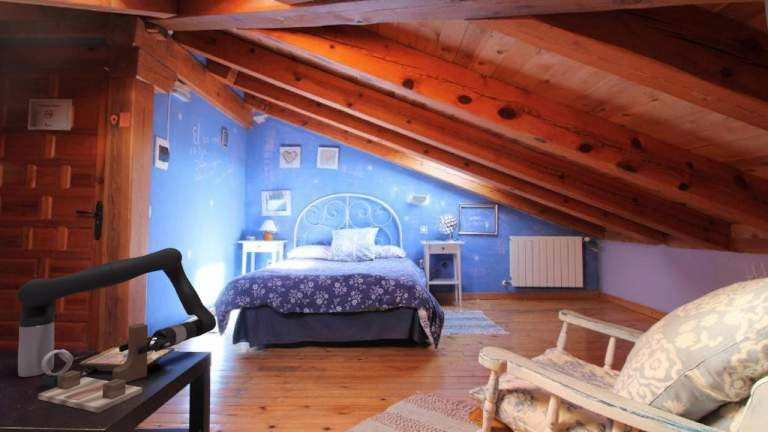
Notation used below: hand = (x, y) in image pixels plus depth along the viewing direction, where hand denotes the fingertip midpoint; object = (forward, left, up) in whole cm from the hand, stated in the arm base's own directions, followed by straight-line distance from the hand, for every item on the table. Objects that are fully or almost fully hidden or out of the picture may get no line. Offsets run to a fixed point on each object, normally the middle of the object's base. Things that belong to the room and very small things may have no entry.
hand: (128, 350), depth 125 cm
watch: (-20, -10, -10) cm, 24 cm away
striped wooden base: (0, -12, -10) cm, 16 cm away
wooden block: (0, 0, -10) cm, 10 cm away
